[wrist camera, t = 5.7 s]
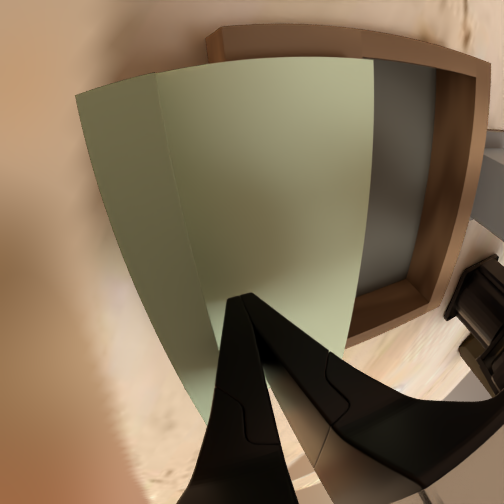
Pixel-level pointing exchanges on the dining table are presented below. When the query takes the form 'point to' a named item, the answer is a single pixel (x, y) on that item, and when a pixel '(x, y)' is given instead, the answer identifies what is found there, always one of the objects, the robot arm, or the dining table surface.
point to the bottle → (470, 354)
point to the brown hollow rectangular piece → (398, 157)
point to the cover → (237, 195)
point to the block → (491, 193)
